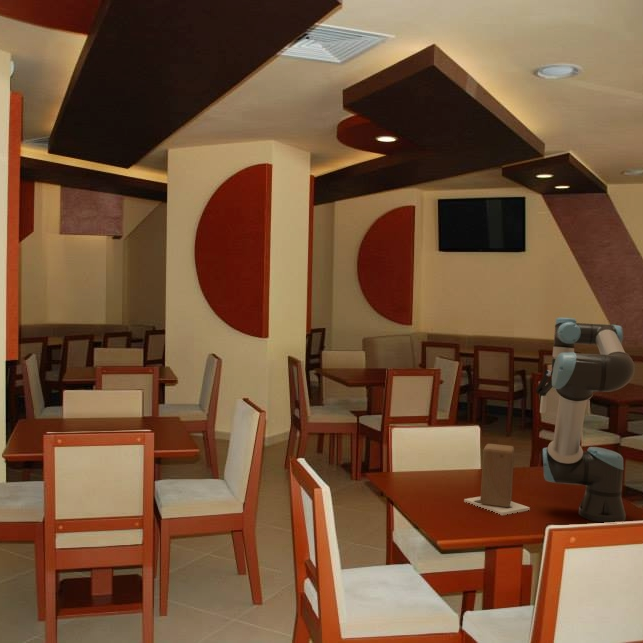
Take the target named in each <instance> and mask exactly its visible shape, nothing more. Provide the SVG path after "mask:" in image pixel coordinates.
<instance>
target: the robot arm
mask: <svg viewBox="0 0 643 643" xmlns="http://www.w3.org/2000/svg"><path fill="white" fill-rule="evenodd" d="M623 330H624V329H623V327H622V326H621V325H618V324H617V325H616V324H601V323H581V322H577V319H576V318H572V317H561V316H560V317H557V318H556V319H555V324H554V338H553V347H552V357H553V359H551V370H550V369H545V370H544V372H543V376H542V378H541V380H540V382H539V383H538V385H537V388H535V393H536V394H538V396H539V400H538V402H539V403H538V404H540V406H539V413H540V414H546V413H547V402H548V395H547V394H548V393H549V392H550V391H551V389H552V388H554V389H555V391H556V393H557V395H558V404H557V412H556V419H555V426H554V427H555V428H554V432H553V440H551V441H550V442H549V444H548V446H547V447H543V448H542V462H543V465H542V466H543V478H544V480H545V481H546V482H549V483H553V484H564V485H565V484H566V485H576V486H585V491H584V492H585V493H584V495H583V496H582V500H581V502H580V503H579V504H580V505H579V508H578V515H579V516H580V517H581V518H583V519H585V520H588V521H591V522H592V521H593V522H597V523H601V522H615V521H624V522H625V521H626V516H627V515H626V511H625V506H624V503H623V500H622V492H623V478H624V477H623V476H624V470H625V469H624V458H623V456H622V455H621V453H620V452H619V453H618V452H617V451H614V450H611V449H607V448H603V447H598V446H590V447H588V448H587V449H586V450H587V451H586V450H583V448H582V446H581V445H580V444H581V438H582V433H583V427H584V420H585V416H586V415H585V414H586V407H587V403H588V402H587V401H588V400H590V399H591V398H592V397H593V395H594V392H602V393H604V392H605V393H609V392H615V391H618V390H620V389H622V388H624V387H625V386H626V385H628V384H629V383H630V382H631V380H633V377H634V374H635V368H636V366H635V363H634V361H633V358H632V357H631V356H630V354H628V353H626V352H625V350H624V347H623V345H622V343H623V338H624V331H623ZM575 344H576V345H591V346H593V345H594V346H597V348H598V351H599V353H597V354H596V353H583V352H582V353H577V352H575Z"/></svg>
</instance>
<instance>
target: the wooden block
mask: <svg viewBox="0 0 643 643" xmlns="http://www.w3.org/2000/svg"><path fill="white" fill-rule="evenodd" d="M514 460H515V447H514V446H513V445H507V444H505V445H504V444H496V443H487V444H486V445H485V446H484V448H483V450H482V467H481V484H480V496H481V498H480V501H481V503H482V504H486V505H494V506H501V507H509V505H510V502H511V501H512V496H513V482H514V481H513V480H514V479H513V478H514V476H513V475H514V462H515V461H514Z"/></svg>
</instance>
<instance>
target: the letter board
mask: <svg viewBox="0 0 643 643" xmlns="http://www.w3.org/2000/svg"><path fill="white" fill-rule="evenodd" d="M480 498H481V495H480V496H475V497H468V498H464V499H463V502H464V503H466V502H467V503H466V504H468V503H470V504H469V505H471V504H473V505H472V506H474V505H475V507H477V506H478V507H477V508H479V507H481V508H480V509H482V508H484V509H483V510H485V509H487V510H486V511H488V510H490V511H489V512H491V511H493V512H495V513H494V514H496V513H498V514H497V515H499V514H500V515H499V516H506V515H507V514H508V515H513V514H517V512H518V513H524V512H527V511H528V510H529V511H531V509H530V508H531V507H529V506H526V505H523V504H520V503H519V502H516V501H515V502H514V501H512V500H511V502H510V505H509V507H501V506H494V505H486V504H482V503H481V501H480ZM493 512H492V513H493ZM512 513H513V514H512Z"/></svg>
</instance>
